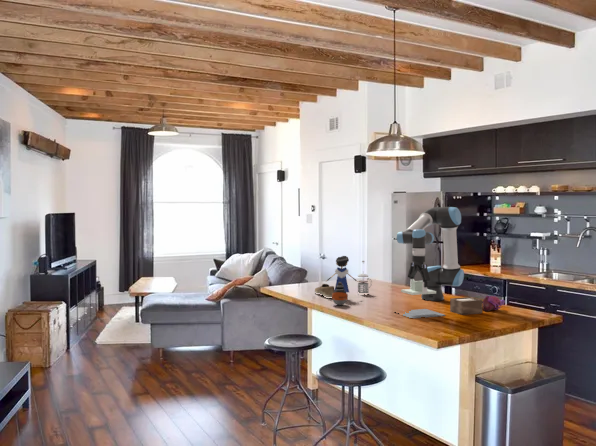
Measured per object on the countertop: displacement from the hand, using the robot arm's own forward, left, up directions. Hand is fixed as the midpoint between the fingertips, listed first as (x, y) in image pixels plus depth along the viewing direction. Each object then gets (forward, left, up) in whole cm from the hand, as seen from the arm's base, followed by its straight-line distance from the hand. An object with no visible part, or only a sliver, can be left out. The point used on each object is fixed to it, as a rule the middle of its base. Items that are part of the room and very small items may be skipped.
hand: (418, 291), depth 307 cm
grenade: (-42, -32, -14) cm, 55 cm away
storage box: (+6, +30, -14) cm, 34 cm away
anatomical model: (+5, +49, -14) cm, 52 cm away
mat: (0, 0, -14) cm, 14 cm away
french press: (-75, +3, -14) cm, 76 cm away
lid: (0, 0, -1) cm, 1 cm away
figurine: (-65, -20, -14) cm, 69 cm away
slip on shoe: (-81, -26, -14) cm, 86 cm away
